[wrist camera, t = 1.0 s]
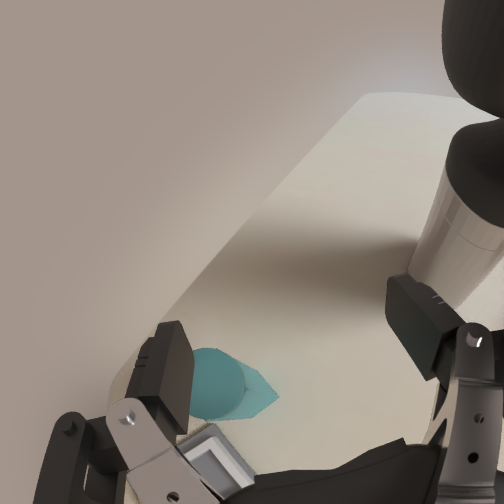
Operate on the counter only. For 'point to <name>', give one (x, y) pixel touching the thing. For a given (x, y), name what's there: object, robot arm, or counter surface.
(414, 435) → the counter surface
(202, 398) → the lidded tumbler
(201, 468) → the housing
